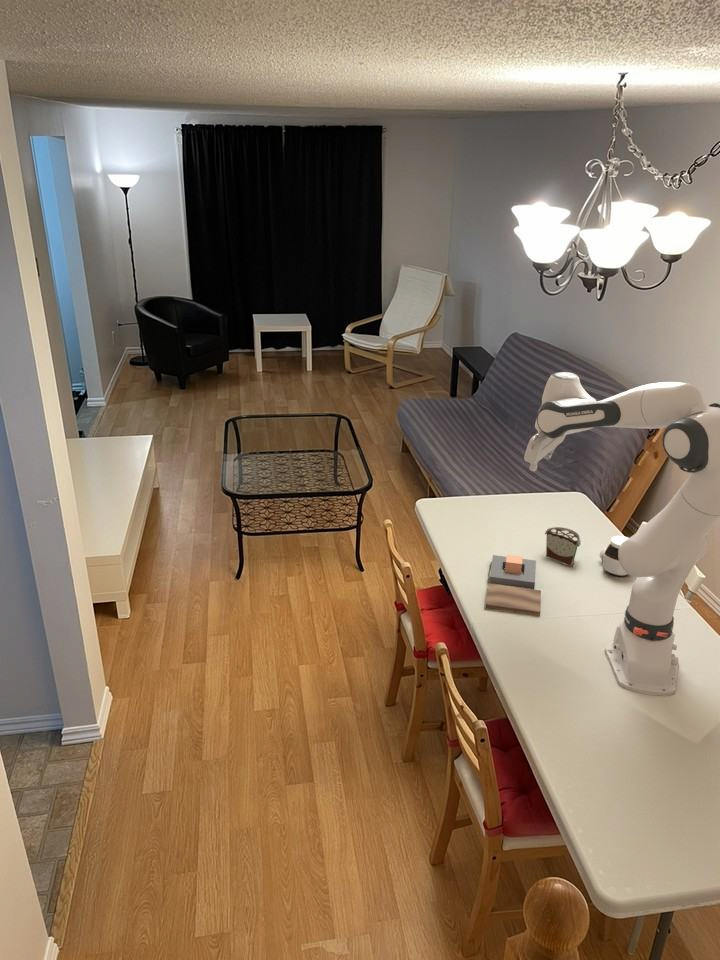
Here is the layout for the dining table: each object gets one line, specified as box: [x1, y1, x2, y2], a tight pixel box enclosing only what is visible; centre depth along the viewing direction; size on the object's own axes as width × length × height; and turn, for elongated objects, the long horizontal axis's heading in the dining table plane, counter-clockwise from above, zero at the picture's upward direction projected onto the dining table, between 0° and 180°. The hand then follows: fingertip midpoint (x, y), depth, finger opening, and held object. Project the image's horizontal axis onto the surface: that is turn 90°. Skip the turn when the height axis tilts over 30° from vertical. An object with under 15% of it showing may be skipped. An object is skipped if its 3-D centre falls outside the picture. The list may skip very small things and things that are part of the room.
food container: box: [544, 526, 582, 567], centre depth 246 cm, size 12×6×10 cm, turn 47°
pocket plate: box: [488, 554, 537, 590], centre depth 237 cm, size 14×14×2 cm
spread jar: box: [599, 535, 630, 578], centre depth 240 cm, size 12×11×12 cm
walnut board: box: [484, 582, 542, 617], centre depth 223 cm, size 12×16×2 cm
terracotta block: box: [504, 553, 524, 575], centre depth 237 cm, size 5×5×6 cm
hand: (540, 464), depth 220 cm, fingers open, 8 cm apart
